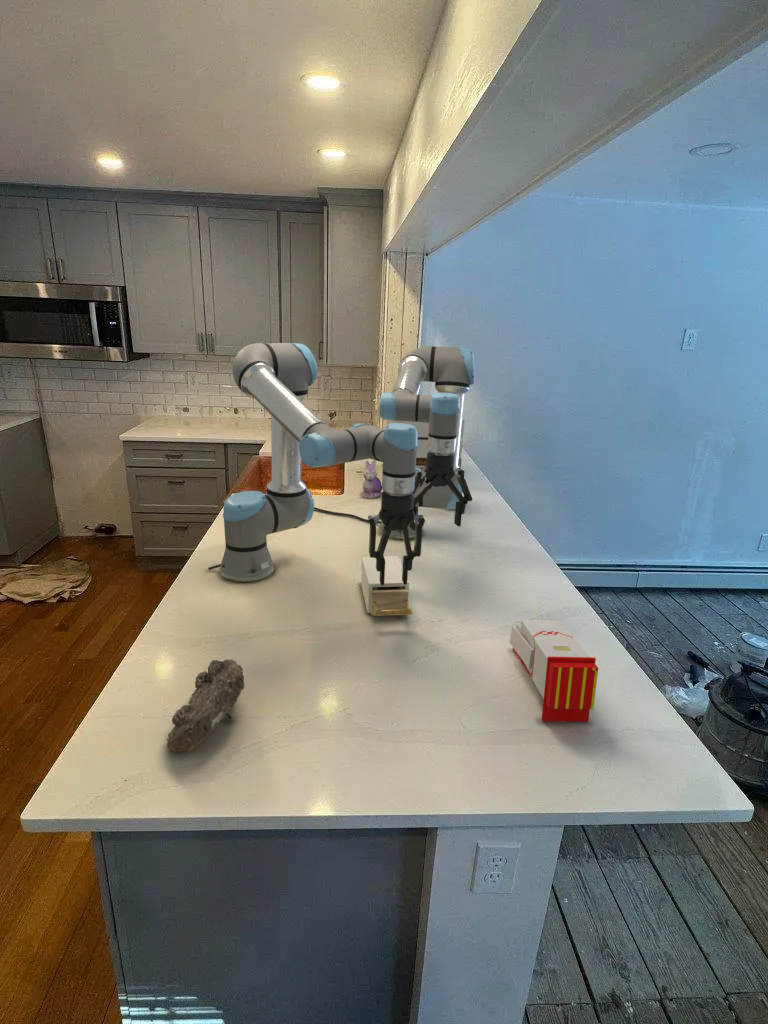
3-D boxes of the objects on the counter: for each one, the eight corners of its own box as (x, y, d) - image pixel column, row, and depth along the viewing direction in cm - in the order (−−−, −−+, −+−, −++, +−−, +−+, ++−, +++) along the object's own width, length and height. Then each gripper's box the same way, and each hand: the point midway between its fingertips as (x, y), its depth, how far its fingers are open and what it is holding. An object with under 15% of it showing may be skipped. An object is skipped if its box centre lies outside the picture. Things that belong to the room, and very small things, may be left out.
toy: (555, 605, 135) (607, 664, 106) (550, 657, 138) (599, 728, 109) (505, 604, 135) (543, 662, 106) (500, 656, 138) (537, 727, 108)
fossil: (192, 660, 117) (244, 628, 112) (224, 691, 120) (276, 661, 115) (142, 746, 98) (202, 712, 93) (182, 779, 101) (242, 748, 96)
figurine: (366, 499, 233) (368, 464, 228) (356, 492, 241) (357, 458, 236) (387, 497, 237) (388, 462, 232) (376, 490, 246) (377, 456, 241)
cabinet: (407, 611, 149) (409, 582, 146) (367, 613, 147) (368, 583, 144) (396, 582, 164) (398, 555, 161) (360, 583, 163) (361, 556, 160)
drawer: (411, 626, 140) (413, 602, 138) (374, 627, 139) (375, 603, 137) (397, 586, 160) (398, 565, 158) (364, 587, 159) (365, 566, 156)
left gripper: (361, 497, 126) (358, 590, 134) (439, 496, 129) (432, 588, 136) (357, 486, 133) (355, 576, 141) (432, 486, 136) (425, 574, 143)
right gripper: (402, 457, 144) (397, 535, 151) (489, 454, 152) (481, 528, 159) (392, 450, 151) (388, 525, 158) (476, 447, 158) (469, 518, 166)
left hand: (393, 582), depth 139 cm, fingers open, 5 cm apart
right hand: (435, 526), depth 158 cm, fingers open, 13 cm apart
